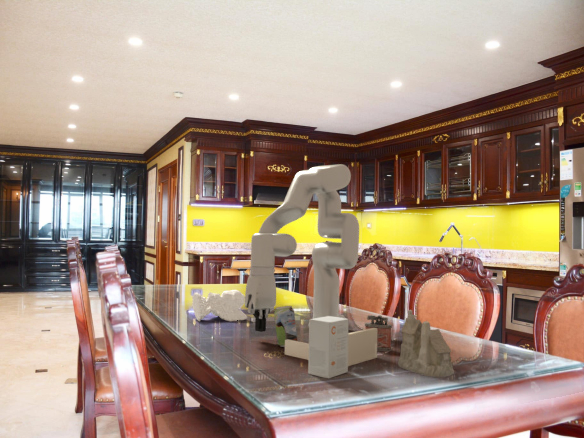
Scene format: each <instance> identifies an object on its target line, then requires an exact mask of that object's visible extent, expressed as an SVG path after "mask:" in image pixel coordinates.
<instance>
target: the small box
mask: <svg viewBox="0 0 584 438" xmlns="http://www.w3.org/2000/svg"><path fill="white" fill-rule="evenodd" d="M308 321H309V322H308V344H309V359H308V360H307V362H308V365H307V366H308V368H307V372H308V375H312V376H317V377H321V378H324V379H331V378H334V377H336V376H340V375H343V374H345V373H348V372H349V371H348V370H349V369H348V368H349V366H348V333H349V321H350V320H349V318H346V317H345V318H340V317H333V316H326V317H320V318H314V319H313V318H310V319H309V320H308Z"/></svg>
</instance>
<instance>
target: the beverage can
mask: <svg viewBox="0 0 584 438" xmlns="http://www.w3.org/2000/svg"><path fill="white" fill-rule="evenodd" d="M273 314H274V322H275V331H276V340H277V341H276V342H277V345H278V346H280V347H281V348H285V340H287V339H289V340H294V341H298V333H297V326H296V325H297V324H296V316H295V315H296V314H295V310H294V308H293V307H292V305H285V306H277V307H275V309H274V312H273Z"/></svg>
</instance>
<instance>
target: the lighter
mask: <svg viewBox="0 0 584 438" xmlns="http://www.w3.org/2000/svg"><path fill="white" fill-rule="evenodd" d="M388 318H389V317H387V316H382V315H380V314H379V315H378V316H376V315H372V314H371V315H370V314H368V315H367V316H366V319H367V321H368V320H369V321H371V322H365V323H364V330H366V329H370V328H377V352H378V351H382V352H391V351H392V328H393V327H392V324H389V323H388V321H389V319H388Z"/></svg>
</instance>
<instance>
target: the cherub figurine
mask: <svg viewBox="0 0 584 438" xmlns="http://www.w3.org/2000/svg"><path fill="white" fill-rule="evenodd" d="M207 294H208V295H207V298H206V297H205V296H203V295H202V294H201V293H199V292H194V293H193V295H192V297H191V298H192V304H191V306H192V307H191V308H192V309H193V312H194V316H195V318H196V320H197V321H198V322H201V321H202V320H203V319H205V317H206V316H208V315H210V314H212V315H213V316H214V317H218V316H219V317H218V318H220V319H221V320H224V321H227V322H238V321H244V320H246V319H247V318H248V316H247V314H245V312H243V311H242V309H240V308H242V307H243V305H245V294H243V293H242V292H241V291H240V290H238V289H231V290H224V291H222V293H221V294H220V293H214V292H209V293H207ZM237 320H238V321H237Z"/></svg>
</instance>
